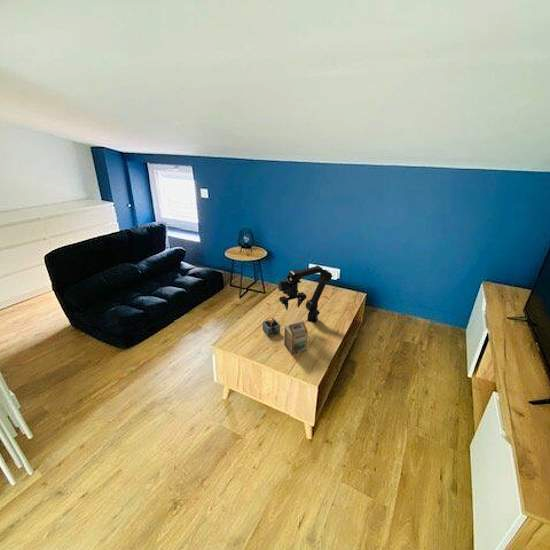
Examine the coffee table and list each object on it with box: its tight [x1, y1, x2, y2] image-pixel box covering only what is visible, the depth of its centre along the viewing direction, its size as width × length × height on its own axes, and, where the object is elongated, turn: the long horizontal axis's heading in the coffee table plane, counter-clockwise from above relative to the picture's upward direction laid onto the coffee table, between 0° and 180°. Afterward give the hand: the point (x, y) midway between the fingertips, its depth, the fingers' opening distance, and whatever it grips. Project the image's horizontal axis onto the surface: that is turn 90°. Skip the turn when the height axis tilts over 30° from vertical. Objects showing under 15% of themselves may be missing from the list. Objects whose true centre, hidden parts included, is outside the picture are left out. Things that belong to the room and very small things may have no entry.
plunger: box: [268, 317, 275, 327], centre depth 200 cm, size 7×7×9 cm
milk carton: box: [283, 320, 309, 356], centre depth 183 cm, size 11×10×19 cm
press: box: [262, 318, 281, 337], centre depth 200 cm, size 9×11×6 cm
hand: (292, 308), depth 205 cm, fingers open, 9 cm apart
